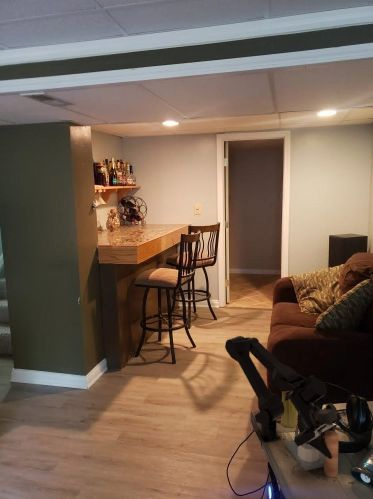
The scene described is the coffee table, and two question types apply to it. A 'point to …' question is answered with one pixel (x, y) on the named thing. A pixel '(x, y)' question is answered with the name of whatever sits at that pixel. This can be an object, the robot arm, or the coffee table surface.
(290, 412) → the vase
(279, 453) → the coffee table surface
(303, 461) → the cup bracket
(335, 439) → the post
